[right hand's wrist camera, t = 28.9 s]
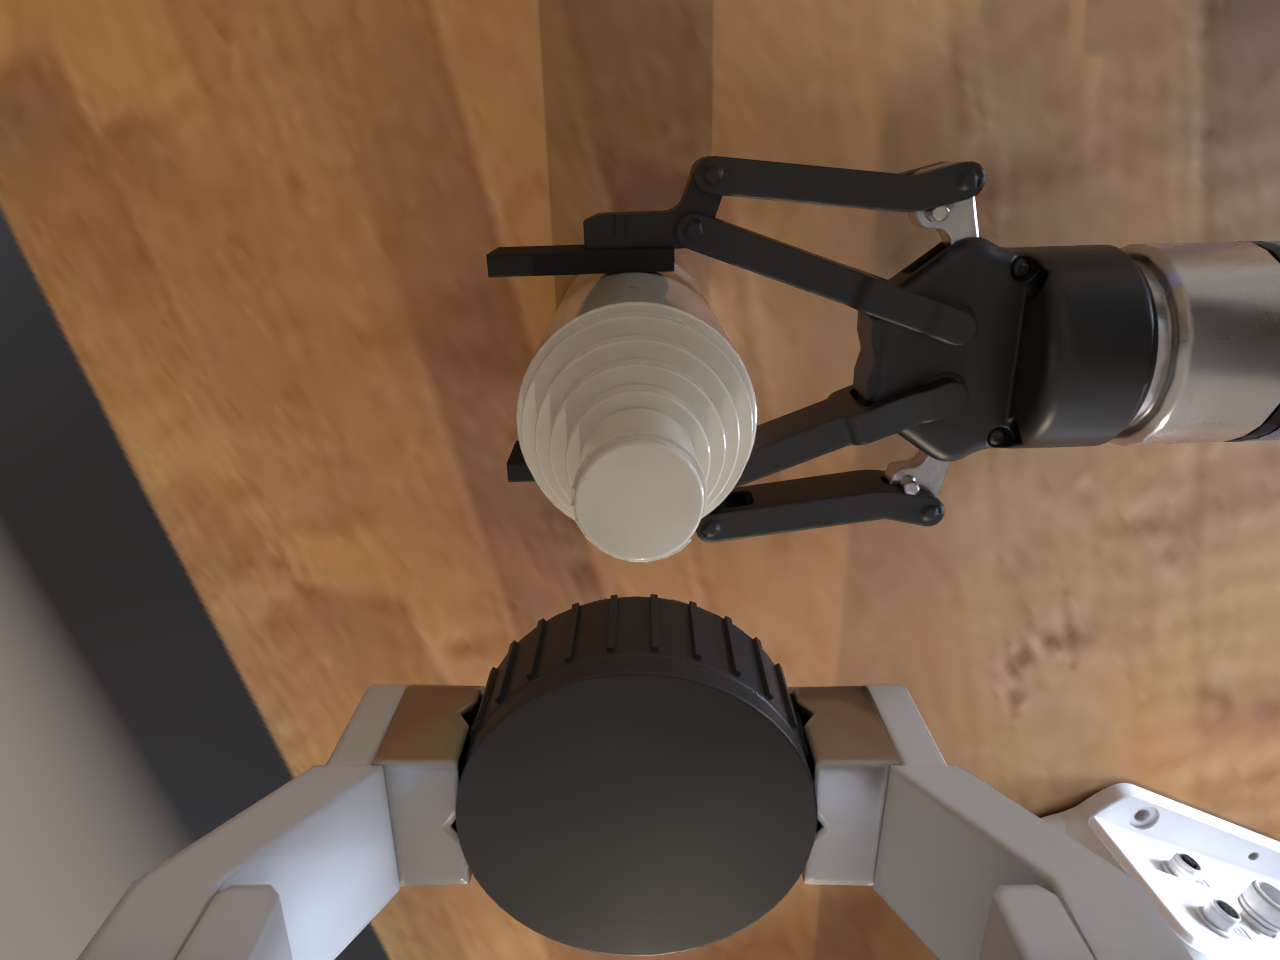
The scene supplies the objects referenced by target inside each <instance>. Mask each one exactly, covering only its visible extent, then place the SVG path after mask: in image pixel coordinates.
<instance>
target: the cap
mask: <svg viewBox="0 0 1280 960" xmlns="http://www.w3.org/2000/svg"><path fill="white" fill-rule="evenodd" d="M803 734H804V727H803V724H802V721H801V717H800V714H799V713H797V712H796V709H795V706H794V702H793V699H792V695H791V693H790V694H789V692H788V688H787V684H786V681H785V677H784V674H783V670H782V667H781V666H780V664H779V663H778V664H776V665H774V663H773V662H772V661H771V659H770V658H769V656H768V655H767V654H766V652H765V651H764V650H763V649H762V646H761V642H760V640H759V639H758V638H757V637H755V638H754V639H752V638H750V637H749V636H748V635H747V634H745V633H744V632H743V631H742V630H740V629H739V628H738V627H736V626H735V625H733V624H732V620H731V618H729V617H727V616H725V618H724V619H723V618H721V617H720V616H718V615H716V614H713V613H711V612H709V611H706V610H704V609H702V608H700V607H697V605H696V603H695V602H691V601H690V602H689V604H686V603H683V602H680V601H675V600H668V599H663V598H658V595H655V594H651V596H650V597H637V596H636V597H619V598H618V596H617V595H611V598H610V599H604V600H599V601H594V602H591V603H588V604H584V605H581V606H580V605H579V603H576V604H573V605H572V609H570V610H567V611H565V612H563V613H561V614H558V615H556V616H554V617H553V618H551V619H549V620H548V621H545V620H544V618H543V619H541V620H540V621H538V625H537V627H536V628H535V629H534V630H532V631H531V632H530V633H529V634H527V635H526V636H525V637H524V638H522V639H521V640H520V641H519V642H518V643H517V642H516V641H515V640H514V641H513V642H512V643H511V644H510V648H509V651H508V654H507V655H506V657H505V658H504V660H503V661H502V662H501V664H500V665H499V667H498V668H497V669H496V668H494V667H493V668H492V670H491V671H490V674H489V678H488V681H487V684H486V687H485V691H484V694H483V697H482V700H481V704H480V707H479V710H478V713H477V716H476V719H474V720H473V721H472V724H471V727H470V739H471V742H470V746H469V749H468V752H467V755H466V758H465V760H466V762H465V765H464V768H463V772H462V775H461V778H460V781H459V785H458V790H457V797H456V804H455V814H456V828H457V833H458V838H459V843H460V846H461V849H462V851H463V854H464V857H465V860H466V862H467V864H468V866H469V868H470V869H471V871H472V873H473V875H474V877H475V878H476V880H477V881H478V882H479V884H480V885H481V886H482V888H483V889H484V890H485V892H486V893H487V894H488V895H489V896H490V897H491V898H492V899H493V900H494V901H495V902H496V903H497V904H498V905H499V906H500V907H501V908H502V909H503V910H504V911H506V912H507V913H508V914H510V915H511V916H512V917H513V918H515V919H516V920H517V921H519V922H521V923H522V924H524V925H525V926H527V927H529V928H530V929H532V930H533V931H535V932H538V933H540V934H542V935H544V936H546V937H548V938H550V939H552V940H555V941H558V942H561V943H563V944H566V945H569V946H572V947H575V948H580V949H584V950H588V951H592V952H597V953H604V954H611V955H623V956H652V955H664V954H671V953H678V952H683V951H687V950H691V949H695V948H700V947H703V946H706V945H709V944H711V943H714V942H717V941H720V940H722V939H725V938H727V937H729V936H731V935H733V934H735V933H737V932H739V931H741V930H743V929H744V928H746V927H748V926H749V925H751V924H752V923H754V922H756V921H757V920H759V919H760V918H761V917H762V916H764V915H765V914H766V913H767V912H769V911H770V910H771V909H772V908H774V907H775V906H776V905H777V904H778V902H779V901H780V900H781V899H782V898H783V897H784V896H785V895H786V894H787V893H788V892H789V890H790V889H791V888H792V886H793V885H794V884H795V882H796V881H797V880H798V878H799V876H800V875H801V873H802V871H803V869H804V867H805V865H806V863H807V862H808V859H809V856H810V853H811V850H812V847H813V845H814V841H815V835H816V830H817V824H818V804H817V797H816V791H815V785H814V782H813V778H812V775H811V771H810V768H809V765H808V761H807V760H808V757H809V753H808V750H807V747H806V743H805V740H804V737H803Z"/></svg>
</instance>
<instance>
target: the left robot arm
mask: <svg viewBox="0 0 1280 960" xmlns="http://www.w3.org/2000/svg"><path fill="white" fill-rule="evenodd" d="M985 178H986V175H985V172H984V169H983V168H982V167H981V165H980V164H978V163H975V162H963V161H953V162H939V163H935V164H932V165H928V166H924V167H921V168H917V169H913V170H910V171H906V172H903V173H899V174H893V173H883V172H873V171H863V170H852V169H842V168H832V167H821V166H811V165H801V164H790V163H780V162H770V161H760V160H749V159H739V158H729V157H718V156H707V157H702V158H700V159H698V160H696V161H695V163H694V164H693V165H692V168H691V171H690V176H689V179H688V182H687V185H686V188H685V191H684V194H683V196H682V198H681V200H680V202H679V203H678V204H677V205H676V206H675V207H673V208H671V209H669V210H665V211H643V212H611V213H598V214H595V215H593V216H591V217H589V218H587V219H585V220H584V222H583V225H584V244H585V245H557V246H525V247H498V248H497V249H495V250H494V251H492V252H490V253H489V254H487V255H486V256H487V267H488V277H511V276H543V275H575V274H607V273H638V272H672V271H674V249H678V248H687V249H690V250H693V251H695V252H698V253H701V254H704V255H707V256H709V257H712V258H715V259H718V260H721V261H723V262H726V263H729V264H732V265H735V266H738V267H740V268H743V269H746V270H749V271H752V272H754V273H757V274H760V275H763V276H766V277H769V278H771V279H774V280H777V281H780V282H783V283H785V284H788V285H791V286H794V287H797V288H799V289H802V290H805V291H808V292H811V293H814V294H816V295H819V296H822V297H825V298H828V299H830V300H833V301H836V302H839V303H842V304H844V305H847V306H850V307H852V308H854V309H857V310H858V324H857V331H858V336H859V341H860V346H861V351H860V354H859V356H858V359H857V362H856V365H855V368H854V381H853V385H851V386H848V387H845V388H843V389H840V390H838V391H836V392H834V393H832V394H831V395H830V396H829V397H828V398H827V399H825V400H823V401H821V402H818V403H815V404H813V405H810V406H808V407H805V408H802V409H800V410H797V411H795V412H792V413H789V414H787V415H784V416H782V417H779V418H777V419H774V420H771V421H769V422H766V423H764V424H761V425H758V426H757V429H756V435H755V441H754V445H753V448H752V451H751V454H750V457H749V460H748V462H747V464H746V466H745V468H744V470H743V472H742V475H741V477H740V479H739V480H738V482H737V483H736V485H735V486H734V488H733V490H732V491H731V492H730V493H729V494H728V496H727V497H726V498H725V499H724V500H723V501H722V502H721V503H720V504H719V505H718V506H717V507H716V508H715V509H714V510H713V511H711V512H710V513H709V514H707V515H706V516H705V517H703V518H702V519H701V521H700V523H699V525H698V527H697V529H696V532H697V535H698V537H699V538H700V539H701V540H703V541H705V542H719V541H727V540H734V539H741V538H748V537H756V536H763V535H770V534H777V533H785V532H792V531H799V530H806V529H814V528H821V527H828V526H835V525H842V524H850V523H857V522H864V521H871V520H879V519H889V520H894V521H900V522H905V523H911V524H916V525H921V526H932V525H935V524H937V523H938V522H940V521H941V520H942V518H943V516H944V513H945V508H944V505H943V504H942V503H941V502H940V501H939V499H938V494H939V492H940V489H941V486H942V484H943V481H944V478H945V475H946V473H947V470H948V467H949V465H950V462H951V461H956V460H959V459H962V458H964V457H965V456H967V455H969V454H971V453H973V452H976V451H979V450H982V449H986V448H1045V447H1077V446H1097V445H1101V444H1104V443H1107V442H1108V441H1109V442H1110V443H1113V444H1118V445H1123V446H1128V445H1150V444H1172V443H1194V442H1215V441H1225V442H1238V441H1248V440H1280V241H1278V242H1263V241H1240V242H1208V243H1167V244H1131V245H1128V246H1125V247H1123V248H1120V249H1119V248H1117V247H1114V246H1111V245H1079V246H1048V247H1016V248H1004V247H999V246H997V245H995V244H994V243H992V242H990V241H989V240H987V239H985V238H981V237H979V234H978V225H977V215H976V205H975V196H976V195H977V194H978V193H979V192H980V191H981V190H982V188H983V186H984V184H985ZM722 195H724V196H735V197H745V198H756V199H766V200H777V201H787V202H798V203H808V204H819V205H830V206H840V207H851V208H861V209H872V210H882V211H893V212H908V215H909V218H910V220H911V222H912V223H913V224H914V225H916V226H919V227H922V228H927V229H935V230H937V231H938V232H939V234H940V235H941V238H942V242H940V243H939V244H938V245H936V246H935V247H934V248H932V249H931V250H929V251H928V252H927V253H925V254H924V255H923V256H921V257H920V258H918V259H917V260H916V261H914V262H913V263H912V264H910V265H909V266H907V267H906V268H905V269H903V270H902V271H900V272H899V273H898V274H896V275H895V276H894V277H892V278H891V279H889V280H886V279H884V278H881V277H878V276H875V275H872V274H870V273H867V272H864V271H861V270H859V269H856V268H853V267H850V266H847V265H844V264H841V263H838V262H836V261H833V260H830V259H827V258H824V257H822V256H819V255H816V254H813V253H811V252H808V251H805V250H802V249H800V248H797V247H794V246H791V245H789V244H786V243H783V242H780V241H778V240H775V239H772V238H769V237H767V236H764V235H761V234H758V233H755V232H753V231H750V230H747V229H744V228H742V227H739V226H736V225H733V224H731V223H728V222H725V221H722V220H720V219H717V218H715V215H716V213H717V210H718V207H719V204H720V201H721V198H722ZM895 433H897V434H899V435H900V436H902V437H903V438H905V439H906V440H907V441H909V442H910V443H912V444H913V445H915V446H916V447H917V448H919V451H918V453H917V454H916V455H915V456H914V457H913V458H911V459H909V460H904V461H896V462H891V463H890V464H888V466H887V469H886V471H881V470H858V471H850V472H843V473H836V474H829V475H822V476H814V477H807V478H800V479H793V480H786V481H779V482H772V483H765V484H758V485H751V486H744V487H739V486H741V485H744V484H747V483H749V482H752V481H755V480H757V479H760V478H763V477H765V476H768V475H771V474H773V473H776V472H779V471H781V470H784V469H787V468H789V467H792V466H795V465H797V464H800V463H803V462H805V461H808V460H811V459H813V458H816V457H819V456H821V455H824V454H827V453H829V452H832V451H835V450H837V449H840V448H842V447H845V446H848V445H864V444H868V443H871V442H873V441H876V440H879V439H881V438H884V437H887V436H889V435H892V434H895ZM507 471H508V482H522V481H535V479H534V477H533V476H532V474H531V472H530V470H529V468H528V466H527V464H526V462H525V459H524V457H523V454H522V451H521V448H520V444H519V441H516V443H515V445H514V448H513V450H512V452H511V455H510V457H509V459H508V462H507ZM736 487H737V488H736Z"/></svg>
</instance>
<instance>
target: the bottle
mask: <svg viewBox="0 0 1280 960" xmlns="http://www.w3.org/2000/svg"><path fill="white" fill-rule="evenodd" d="M516 424H517V435H518V439H519V444H520V448H521V451H522V454H523V457H524V459H525V462H526V464H527V466H528V468H529V470H530V472H531V474H532V476H533V477H534V479H535V481H536V483H537V484H538V486H539V487H540V488H541V490H542V491H543V493H544V494H545V495H546V496H547V497H548V499H549V500H550V501H551V502H552V503H553V504H554V505H555V506H556V507H557V508H559V509H560V510H561V511H562V512H563V513H564V514H566V515H567V516H569V517H570V518H572V519H573V520H575V521H576V523H577V525H578V526H579V528H580V530H581V531H582V533H583V534H584V536H585V537H586V538H587V539H588V540H589V541H590V542H591V543H592V544H593V545H594V546H595V547H596V548H597V549H599V550H601V551H603V552H605V553H606V554H608V555H610V556H611V557H614V558H618V559H622V560H626V561H628V562H645V563H646V562H650V561H655V560H659V559H665V558H667V557H669V556H671V555H673V554H675V553H677V552H679V551H681V550H682V549H683V548H684V547H685V546H686V545H688V544H689V543H690V542H691V541H692V540H691V538H690V537H691V536H692V535H693V533H694V532H695V530H696V529H697V527H698V525H699V523H700V521H701V519H702V518H703V517H705V516H706V515H707V514H709V513H710V512H711V511H713V510H714V509H715V508H716V507H717V506H718V505H719V504H720V503H721V502H722V501H723V500H724V499H725V498H726V497H727V496H728V494H729V493H730V492H731V491H732V490H733V488H734V486H735V485H736V483H737V482H738V480H739V479H740V477H741V475H742V472H743V470H744V468H745V466H746V464H747V462H748V460H749V457H750V454H751V451H752V448H753V445H754V441H755V435H756V429H757V406H756V397H755V393H754V389H753V385H752V382H751V379H750V377H749V374H748V372H747V369H746V367H745V365H744V364H743V362H742V360H741V358H740V357H739V355H738V353H737V352H736V350H735V348H734V346H733V345H732V343H731V341H730V340H729V338H728V336H727V335H726V333H725V331H724V330H723V328H722V326H721V324H720V323H719V321H718V319H717V318H716V316H715V314H714V313H713V311H712V309H711V307H710V306H709V304H708V302H707V301H706V299H705V297H704V296H703V294H702V292H701V291H700V289H699V287H698V285H697V284H696V283H695V282H694V280H693V279H692V278H691V277H690V276H689V275H688V274H687V273H686V272H685V271H684V270H683V269H682V268H681V267H679V266H678V265H677V264H675V263H674V271H672V272H638V273H607V274H579V275H578V276H577V277H576V278H575V279H574V280H573V282H572V283H571V285H570V286H569V288H568V289H567V291H566V293H565V295H564V297H563V299H562V301H561V303H560V305H559V307H558V309H557V311H556V313H555V315H554V317H553V319H552V321H551V323H550V325H549V327H548V329H547V331H546V333H545V335H544V337H543V339H542V341H541V343H540V345H539V347H538V349H537V351H536V353H535V355H534V357H533V359H532V361H531V363H530V365H529V367H528V369H527V371H526V373H525V375H524V378H523V381H522V384H521V387H520V390H519V396H518V401H517V411H516Z"/></svg>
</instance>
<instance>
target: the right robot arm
mask: <svg viewBox="0 0 1280 960" xmlns="http://www.w3.org/2000/svg"><path fill="white" fill-rule="evenodd" d="M484 691H485V687H484V686H454V685H410V686H409V685H373V686H371V687H369V688H368V689H367V690H366V691H365V693H364V695H363V697H362V699H361V701H360V702H359V704H358V706H357V708H356V710H355V712H354V714H353V716H352V717H351V719H350V721H349V723H348V725H347V727H346V729H345V730H344V732H343V734H342V736H341V738H340V740H339V742H338V744H337V745H336V747H335V749H334V751H333V753H332V755H331V757H330V759H329V760H328V762H327V764H326V765H317V766H313V767H311V768H310V769H308V770H307V771H305V772H304V773H302V774H300V775H299V776H297V777H296V778H294V779H293V780H291V781H290V782H288V783H286V784H285V785H283V786H282V787H280V788H279V789H277V790H276V791H274V792H272V793H271V794H269V795H268V796H266V797H264V798H263V799H261V800H260V801H258V802H257V803H255V804H254V805H252V806H250V807H249V808H247V809H246V810H244V811H243V812H241V813H239V814H238V815H236V816H235V817H233V818H232V819H230V820H228V821H227V822H225V823H224V824H222V825H221V826H219V827H218V828H216V829H214V830H213V831H211V832H210V833H208V834H207V835H205V836H203V837H202V838H200V839H199V840H197V841H196V842H194V843H193V844H191V845H189V846H188V847H186V848H185V849H183V850H181V851H180V852H178V853H177V854H175V855H174V856H172V857H171V858H169V859H168V860H166V861H164V862H163V863H161V864H160V865H158V866H156V867H155V868H153V869H152V870H150V871H149V872H147V873H145V874H144V875H142V876H141V877H139V878H138V879H136V880H135V881H133V882H132V884H131V885H130V887H129V888H128V889H127V891H126V892H125V894H124V895H123V896H122V898H121V899H120V900H119V902H118V903H117V905H116V906H115V907H114V909H113V910H112V912H111V913H110V914H109V916H108V917H107V918H106V920H105V921H104V923H103V924H102V925H101V927H100V928H99V930H98V931H97V932H96V934H95V935H94V937H93V938H92V939H91V941H90V942H89V943H88V945H87V946H86V948H85V949H84V950H83V952H82V953H81V954H80V956H79V957H78V959H77V960H334V959H335V958H336V957H337V956H338V955H339V954H340V953H341V952H342V951H343V950H344V949H345V948H346V946H347V945H348V944H349V943H350V942H351V941H352V940H353V939H354V938H355V937H356V936H357V935H358V934H359V933H360V932H361V931H362V930H363V928H364V927H365V926H366V925H367V924H368V923H369V922H370V921H371V920H372V919H373V918H374V917H375V916H376V915H377V914H378V913H379V912H380V911H381V910H382V908H383V907H384V906H385V905H386V904H387V903H388V902H389V901H390V900H391V899H392V898H393V897H394V896H395V895H396V894H397V893H398V892H399V891H400V886H412V885H446V884H469V883H470V879H471V875H472V871H471V869H470V868H469V866H468V864H467V862H466V860H465V857H464V854H463V851H462V849H461V846H460V843H459V838H458V833H457V828H456V814H455V804H456V797H457V790H458V785H459V781H460V778H461V775H462V772H463V768H464V765H465V762H466V760H465V758H466V755H467V752H468V749H469V746H470V742H471V739H470V727H471V724H472V721H473V720H474V719H476V716H477V713H478V710H479V707H480V704H481V700H482V697H483V694H484ZM788 692H789V694H790V693H791V695H792V699H793V702H794V706H795V709H796V712H797V713H799V714H800V717H801V721H802V724H803V727H804V734H803V737H804V740H805V743H806V747H807V750H808V753H809V757H808V760H807V761H808V765H809V768H810V771H811V775H812V778H813V782H814V785H815V791H816V797H817V804H818V824H817V830H816V835H815V841H814V845H813V847H812V850H811V853H810V856H809V859H808V862H807V863H806V865H805V867H804V869H803V871H802V876H803V881H804V884H826V885H861V886H874V887H873V889H874V891H875V892H876V893H877V894H878V895H879V896H880V897H881V898H882V899H883V900H884V901H885V902H886V903H887V904H888V906H889V907H890V908H891V909H892V910H893V911H894V912H895V913H896V914H897V915H898V916H899V917H900V918H901V919H902V920H903V922H904V923H905V924H906V925H907V926H908V927H909V928H910V929H911V930H912V931H913V932H914V933H915V934H916V935H917V937H918V938H919V939H920V940H921V941H922V942H923V943H924V944H925V945H926V946H927V947H928V948H929V949H930V950H931V952H932V953H933V954H934V955H935V956H936V957H937V958H938V959H939V960H1280V842H1279V841H1276V840H1273V839H1271V838H1268V837H1266V836H1263V835H1261V834H1258V833H1256V832H1253V831H1250V830H1248V829H1245V828H1243V827H1240V826H1238V825H1235V824H1233V823H1230V822H1228V821H1225V820H1222V819H1220V818H1217V817H1215V816H1212V815H1210V814H1207V813H1205V812H1202V811H1199V810H1197V809H1194V808H1192V807H1189V806H1187V805H1184V804H1182V803H1179V802H1176V801H1174V800H1171V799H1169V798H1166V797H1164V796H1161V795H1159V794H1156V793H1153V792H1151V791H1148V790H1146V789H1143V788H1141V787H1138V786H1136V785H1133V784H1129V783H1118V784H1114V785H1111V786H1109V787H1107V788H1105V789H1103V790H1101V791H1099V792H1097V793H1096V794H1094V795H1092V796H1091V797H1089V798H1088V799H1086V800H1085V801H1083V802H1082V803H1080V804H1079V805H1077V806H1076V807H1073V808H1071V809H1068V810H1066V811H1063V812H1060V813H1056V814H1053V815H1049V816H1046V817H1042V818H1039V817H1037V816H1036V815H1034V814H1033V813H1031V812H1030V811H1028V810H1026V809H1025V808H1023V807H1022V806H1020V805H1019V804H1017V803H1016V802H1014V801H1013V800H1011V799H1009V798H1008V797H1006V796H1005V795H1003V794H1002V793H1000V792H999V791H997V790H996V789H994V788H992V787H991V786H989V785H988V784H986V783H985V782H983V781H982V780H980V779H979V778H977V777H975V776H974V775H972V774H971V773H969V772H968V771H966V770H965V769H963V768H962V767H960V766H956V765H947V764H946V762H945V760H944V758H943V757H942V755H941V753H940V751H939V749H938V747H937V745H936V743H935V741H934V740H933V738H932V736H931V734H930V732H929V730H928V728H927V726H926V724H925V723H924V721H923V719H922V717H921V715H920V713H919V711H918V709H917V707H916V706H915V704H914V702H913V700H912V698H911V696H910V694H909V692H908V690H907V689H906V687H904V686H903V685H901V684H884V685H863V686H833V687H788Z"/></svg>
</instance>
